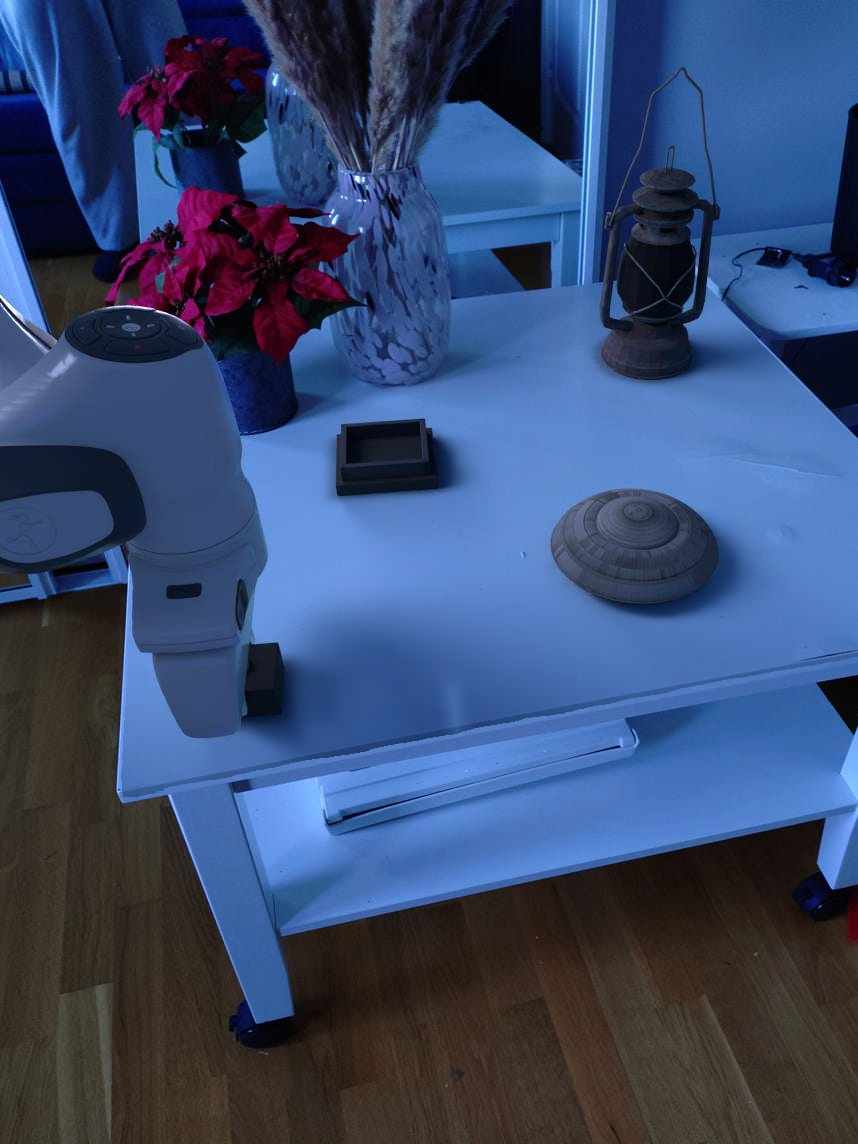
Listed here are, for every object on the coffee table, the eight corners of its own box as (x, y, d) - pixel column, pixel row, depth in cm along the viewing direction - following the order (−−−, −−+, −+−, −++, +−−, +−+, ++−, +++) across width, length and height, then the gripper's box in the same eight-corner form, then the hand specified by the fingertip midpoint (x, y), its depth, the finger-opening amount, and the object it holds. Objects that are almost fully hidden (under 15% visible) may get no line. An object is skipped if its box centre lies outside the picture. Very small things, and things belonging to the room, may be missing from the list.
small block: (204, 720, 73) (193, 692, 70) (210, 673, 76) (201, 644, 74) (281, 713, 73) (273, 685, 70) (284, 666, 76) (277, 638, 74)
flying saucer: (534, 516, 89) (536, 469, 85) (685, 497, 91) (694, 450, 87) (571, 626, 79) (574, 578, 75) (740, 603, 80) (752, 555, 76)
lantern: (683, 328, 114) (724, 45, 92) (712, 373, 106) (765, 77, 85) (584, 339, 112) (602, 54, 91) (607, 385, 105) (633, 88, 83)
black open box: (337, 495, 92) (333, 472, 90) (338, 443, 98) (334, 420, 96) (437, 488, 93) (436, 465, 90) (432, 436, 99) (431, 414, 97)
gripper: (172, 458, 70) (214, 592, 80) (126, 656, 56) (184, 788, 66) (256, 452, 71) (287, 586, 80) (232, 647, 56) (273, 780, 66)
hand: (240, 679), depth 73 cm, fingers closed on small block, 5 cm apart
